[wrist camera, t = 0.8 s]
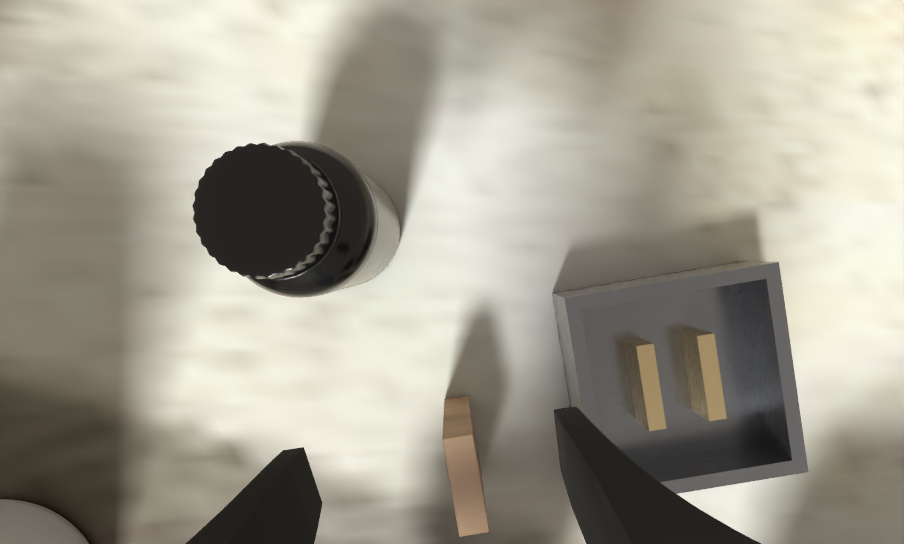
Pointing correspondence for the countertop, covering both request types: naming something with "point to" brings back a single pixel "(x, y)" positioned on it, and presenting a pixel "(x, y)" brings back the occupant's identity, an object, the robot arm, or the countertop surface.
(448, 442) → the tan wooden brick
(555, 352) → the countertop surface
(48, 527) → the cylinder vase
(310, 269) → the supplement bottle
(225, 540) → the robot arm
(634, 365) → the square metal tray
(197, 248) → the countertop surface
